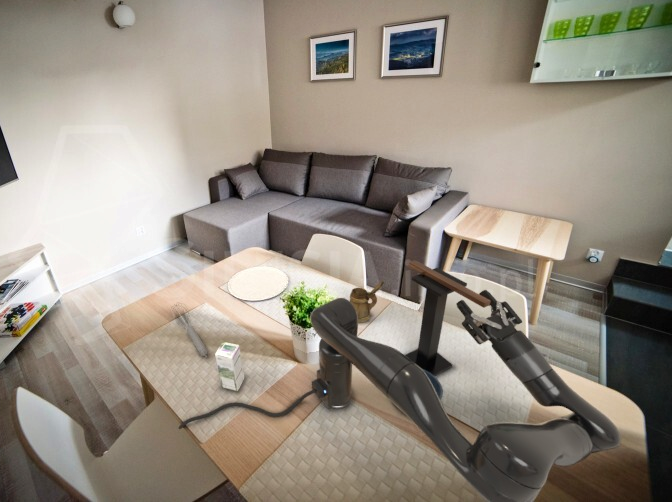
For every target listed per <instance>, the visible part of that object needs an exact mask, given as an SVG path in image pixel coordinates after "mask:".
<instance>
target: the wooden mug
mask: <svg viewBox="0 0 672 502" xmlns="http://www.w3.org/2000/svg"><path fill="white" fill-rule="evenodd" d="M384 285H385V282H384V281H380V282H378V283H377V285H375V286H374V288H373V289H372V290H371V291H367V289H365V288H363V287H354V288H352V290H351V292H350V294H349V301H350V302H351V303H352V305H353V306H354V308H355V310H356V313H357V317H358V323H366V322H367V321H369V320H370V319H371V315H372V313H371V310H372V309H373V308H374V307H375V306H376V305H377V303H378V297H377V294H376V293H378V292H379V291H380V289H382V287H384ZM370 300H371V302H369V301H370Z"/></svg>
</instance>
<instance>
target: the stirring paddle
mask: <svg viewBox="0 0 672 502" xmlns="http://www.w3.org/2000/svg"><path fill="white" fill-rule="evenodd" d="M407 268H409V269H411V270H413V271H414V272H415V273H417V274H418V275H419V274H421V275H426V276H428V277H430V278H431V279H433V280H435V281H437V282H439V283H440V284H442V285H444V286H446V287H447V288H449V289H451V290H453V291H454V293H457V294H458V295H460V296H462V297H464V298H466V299H467V300H469V301H471V302H472V303H475V304H476V305H478V306H479V307H482V309H483V308H484V309H485V308H487V307H490V306H491V305H490V302H491V300H489V299H487V298H485V297H483V296H481V295H479V293H477V292H475V291H473V290H472V289H470V288H468V287H467V286H466V287H464V286H462V285H460V284H459V283H457V282H455V281H453V280H451V279H449V278H447V277H445V276H443V275H442V274H440V273H438V272H436V271H434V270H432V269H433V268H431V267H429V266H428V265H425V264H423V263H422V262H420V261H418V260H415V259H413V260H411V261H408V263H407ZM489 305H490V306H489Z"/></svg>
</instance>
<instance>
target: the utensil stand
mask: <svg viewBox="0 0 672 502" xmlns="http://www.w3.org/2000/svg"><path fill="white" fill-rule="evenodd" d="M431 269H432V270H434V271H436V272H438V273H440V274H442V275H443V276H445V277H447V278H449V279H451V280H453V281H455V282H457V283H459V284H460V285H462V286H464V287H466V288H467V286H468V283H467V282H465V281H464V280H462V279H460V278H457V277H456V276H453V275H452V274H450V273H448V272H446V271H445V270H442V269H440V268H438V267H435V268H431ZM411 281H413V282H414V283H416V284H418V285H419V286H421V287H422V288H424V289H426V290H425V295H424V303H423V311H422V318H421V324H420V331H419V338H418V345H417V349H414V350H412V351H411V352H409V353H407V354H404V355H405V356H407V357H408V358H409V359H410V360H412V361H413V362H414V363H415V364H417V365H418V366H419V367H420V368H421V369H424V370H426V371H428V372H430V373H431V374H432V375H434V376H435V377H437V376H439V375H441V374H442V373H444V372H446V371H448V370H450V369H452V368H453V365H454V364H452V362H450V361H449V360H448V359H446V358H445V357H444V356H442V355H441V354H440V353H438V351H439V344H440V339H441V335H442V330H443V329H442V328H443V322H444V317H445V312H446V305H447V300H448V295H449V294H452V293H455V291H453V290H451V289H449V288H447V287H446V286H444V285H442V284H440V283H439V282H437V281H435V280H433V279H431V278H430V277H428V276H426V275H421V274H419V273H418V274H416V275H414V276H411Z"/></svg>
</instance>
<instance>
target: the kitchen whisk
mask: <svg viewBox="0 0 672 502" xmlns="http://www.w3.org/2000/svg"><path fill="white" fill-rule="evenodd" d="M179 304H180V307H182V309H186V310H183V311H184V314H185V315H184V314H183V313H182V311H181V309H180V308H179ZM182 304H183V303H182V302H181V303H180V302H179V301H178V302H177V304H173V305H172V306H171V308H170V311H171V315H172V316H173V319H174V320H176V316H178V314H177V313H175V314H176V316H175V314H174V312H173V311H174V309H175V310H176V312H178V313H179V315H180V317H181V319H182V320H183V321H184V323H181V324H180V326H181V327H182V328H183V329H184V330H185V329H186V332H187V334H188V336H189V338H190V340H191V341H192V342H193V344H194V346H195V347H196V349H197V352H198V353H199V355H200V356H201V357H205V358H206V359H207V358H208V355H207V354H208V349H207V348H206V346H205V343H203V341H202V339H201V338H200V336H199V334H198V333H197V331H196V329H195V328H194V327H193V325H192V324H191V323H190V322H192V319H191V314H190V311H189V310H188V307H187V305H186V304H184V306H183V305H182ZM178 310H179V311H180V312H179V311H178ZM186 312H187V313H186ZM181 314H182V315H181ZM187 314H188V317H189V319H188V317H187ZM185 316H186V317H185ZM183 317H185V318H186V319H185V318H183ZM184 319H185V320H184ZM189 320H190V321H189ZM185 321H186V322H185ZM178 322H181V320H180V319H178Z"/></svg>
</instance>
